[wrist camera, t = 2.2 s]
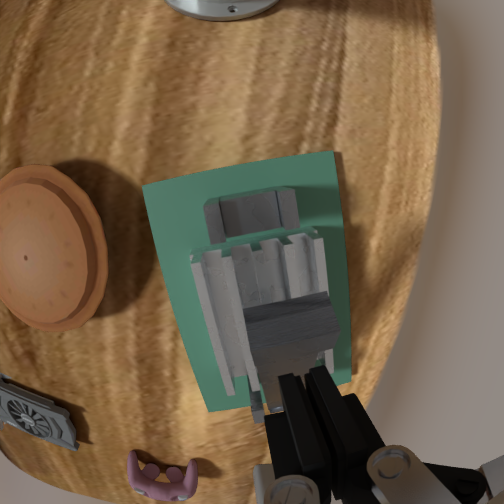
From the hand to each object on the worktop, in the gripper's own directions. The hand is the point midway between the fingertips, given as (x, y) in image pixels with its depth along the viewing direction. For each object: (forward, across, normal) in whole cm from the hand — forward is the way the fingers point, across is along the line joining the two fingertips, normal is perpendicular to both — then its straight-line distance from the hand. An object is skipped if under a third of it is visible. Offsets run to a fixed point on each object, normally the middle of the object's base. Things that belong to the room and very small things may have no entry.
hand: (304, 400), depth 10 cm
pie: (+18, +19, -6) cm, 27 cm away
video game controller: (+18, +18, +27) cm, 37 cm away
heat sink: (+16, 0, +3) cm, 17 cm away
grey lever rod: (+7, 0, +4) cm, 8 cm away
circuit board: (+18, 0, +3) cm, 18 cm away
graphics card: (+19, +36, +16) cm, 43 cm away
